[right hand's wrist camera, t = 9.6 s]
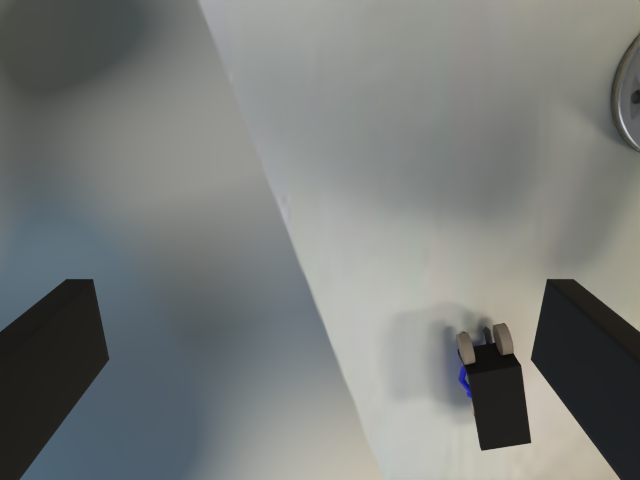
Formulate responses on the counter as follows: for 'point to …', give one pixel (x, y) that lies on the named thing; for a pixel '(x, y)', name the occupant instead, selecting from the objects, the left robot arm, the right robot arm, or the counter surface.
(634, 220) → the counter surface
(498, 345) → the figurine character
